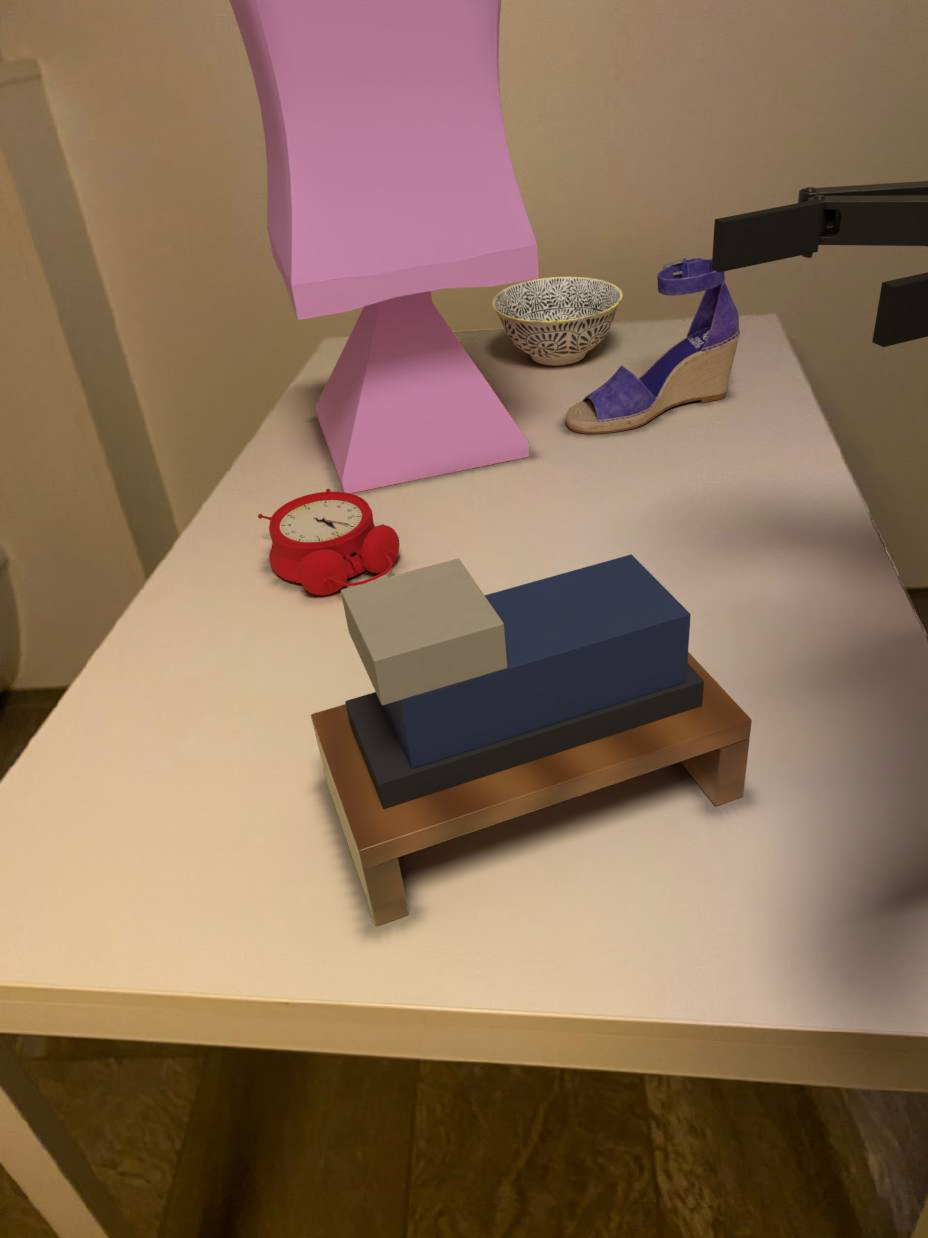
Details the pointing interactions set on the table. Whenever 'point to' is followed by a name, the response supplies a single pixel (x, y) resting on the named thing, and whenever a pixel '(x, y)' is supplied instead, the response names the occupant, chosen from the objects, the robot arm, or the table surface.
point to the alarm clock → (329, 541)
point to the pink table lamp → (391, 216)
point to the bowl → (557, 316)
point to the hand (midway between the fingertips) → (789, 276)
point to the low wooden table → (521, 785)
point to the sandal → (671, 359)
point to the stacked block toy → (509, 669)
